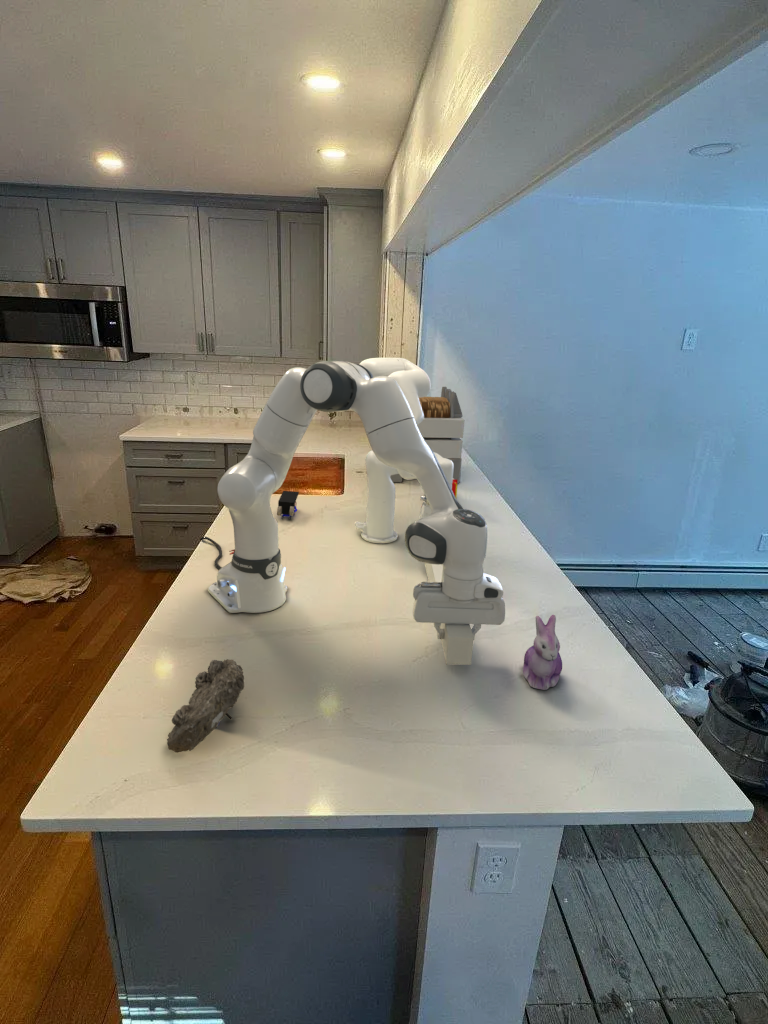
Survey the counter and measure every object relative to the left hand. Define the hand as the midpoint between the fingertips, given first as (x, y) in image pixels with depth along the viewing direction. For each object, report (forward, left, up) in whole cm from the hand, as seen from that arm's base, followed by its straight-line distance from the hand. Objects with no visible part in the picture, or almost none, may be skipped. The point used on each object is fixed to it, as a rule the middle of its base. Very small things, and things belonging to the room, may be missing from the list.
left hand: (455, 638), depth 128 cm
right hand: (-32, +35, -1) cm, 47 cm away
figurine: (+18, +7, -5) cm, 20 cm away
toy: (-67, +89, -5) cm, 111 cm away
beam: (-16, +18, -3) cm, 24 cm away
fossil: (-22, -49, -5) cm, 54 cm away
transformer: (-100, +118, -5) cm, 155 cm away
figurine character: (-97, +34, -5) cm, 103 cm away
